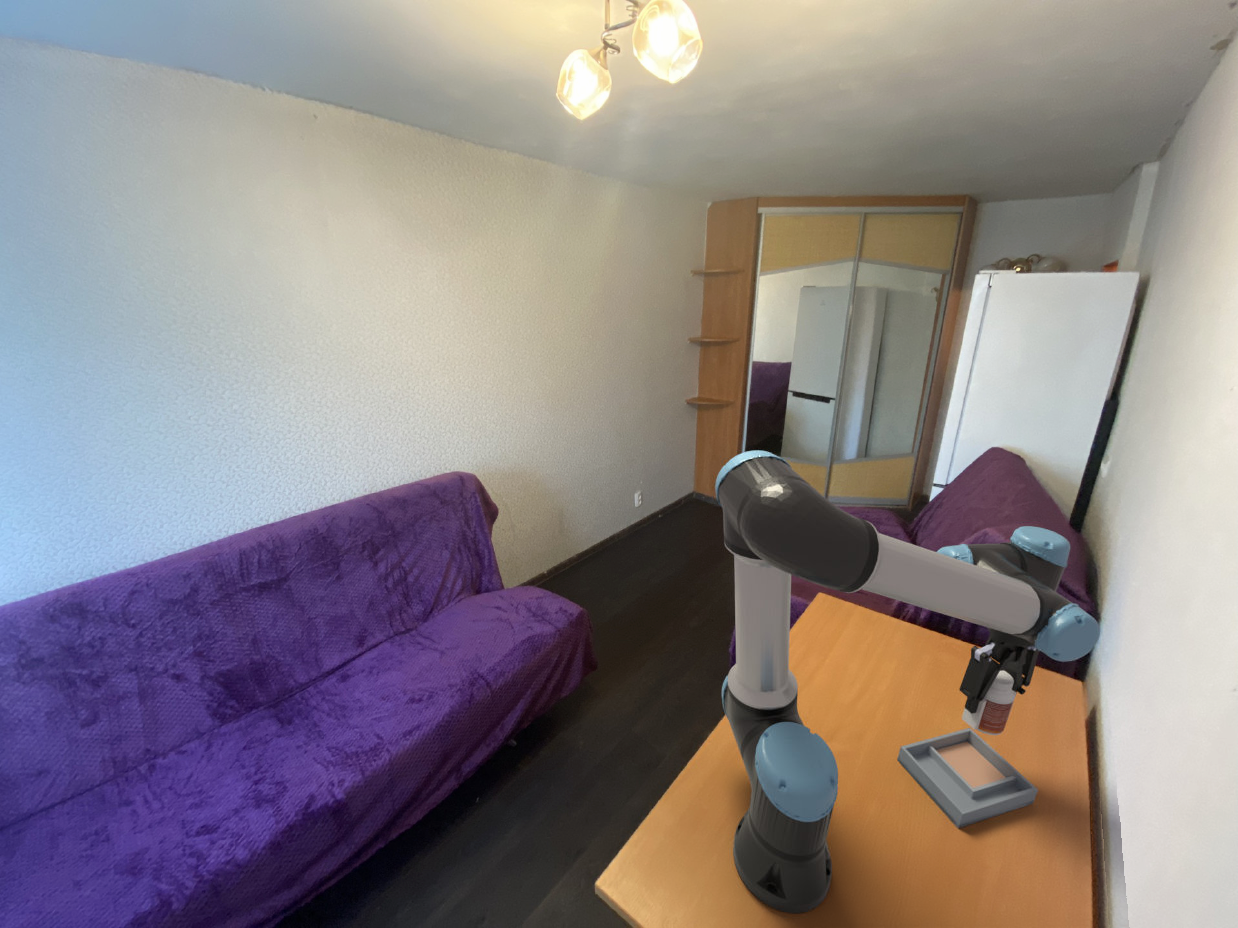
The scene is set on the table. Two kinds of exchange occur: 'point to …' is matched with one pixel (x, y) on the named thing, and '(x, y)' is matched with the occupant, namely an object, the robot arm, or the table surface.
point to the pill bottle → (997, 705)
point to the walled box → (966, 777)
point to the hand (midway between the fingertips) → (984, 719)
